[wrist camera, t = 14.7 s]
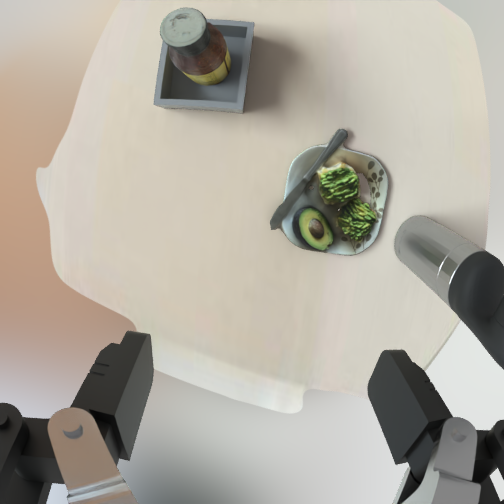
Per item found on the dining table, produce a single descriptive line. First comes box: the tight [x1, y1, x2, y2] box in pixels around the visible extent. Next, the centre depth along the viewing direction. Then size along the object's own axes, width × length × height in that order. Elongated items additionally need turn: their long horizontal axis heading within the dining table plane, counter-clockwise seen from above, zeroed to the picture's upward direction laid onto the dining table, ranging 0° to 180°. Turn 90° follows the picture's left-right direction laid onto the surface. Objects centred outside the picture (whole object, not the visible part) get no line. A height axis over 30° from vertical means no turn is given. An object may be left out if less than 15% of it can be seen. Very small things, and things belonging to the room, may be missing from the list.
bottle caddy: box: [154, 19, 254, 113], centre depth 36 cm, size 12×13×6 cm
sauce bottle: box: [160, 8, 231, 86], centre depth 29 cm, size 6×6×20 cm
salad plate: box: [270, 129, 388, 256], centre depth 44 cm, size 19×18×5 cm
